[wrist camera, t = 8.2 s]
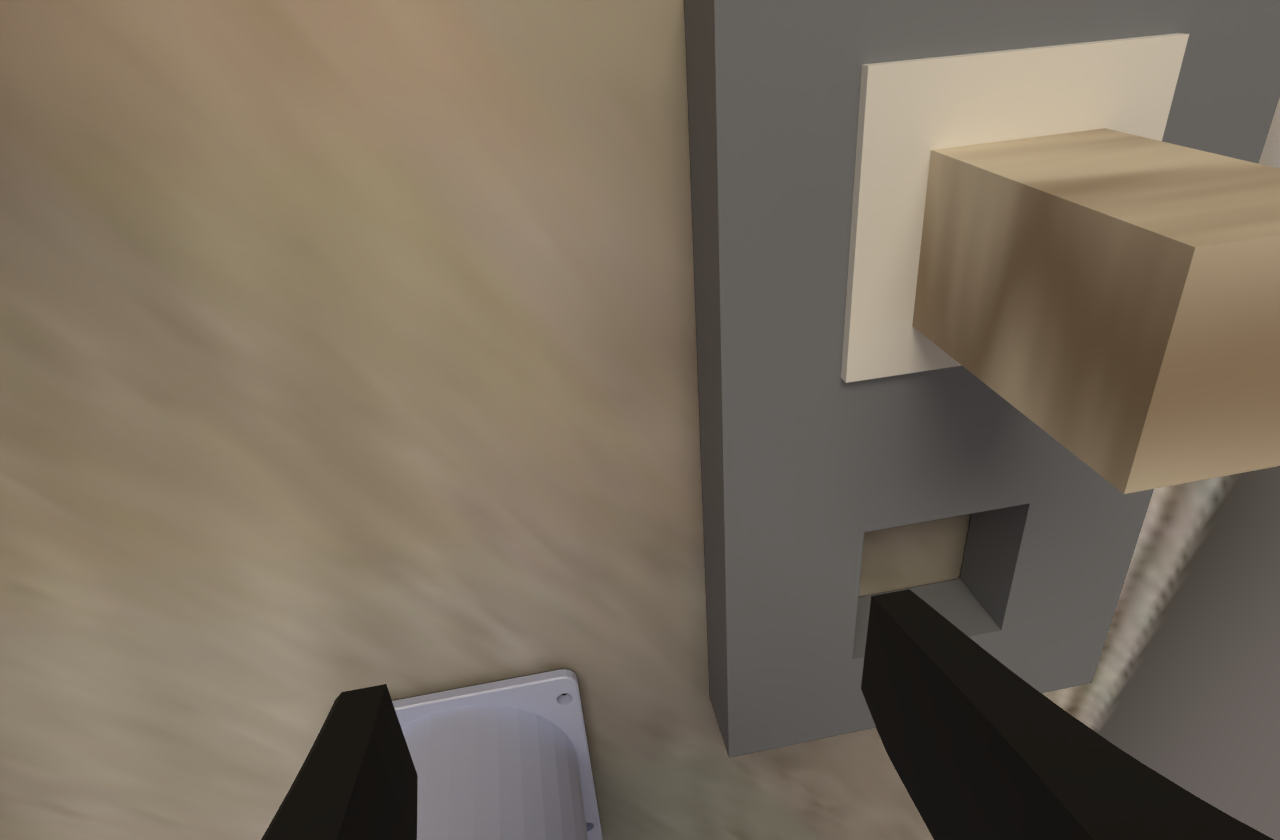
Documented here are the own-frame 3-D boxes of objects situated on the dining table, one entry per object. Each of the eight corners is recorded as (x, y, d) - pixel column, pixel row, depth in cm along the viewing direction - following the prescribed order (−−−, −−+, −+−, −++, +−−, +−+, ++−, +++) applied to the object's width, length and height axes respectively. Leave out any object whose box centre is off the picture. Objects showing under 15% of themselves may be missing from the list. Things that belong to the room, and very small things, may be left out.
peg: (1068, 302, 19) (1346, 453, 13) (912, 326, 18) (1123, 494, 12) (1105, 128, 17) (1457, 209, 11) (930, 149, 16) (1195, 247, 10)
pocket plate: (1046, 631, 29) (1097, 689, 27) (709, 697, 27) (731, 765, 25) (1229, -57, 18) (1344, -63, 16) (683, -10, 16) (718, -9, 14)
